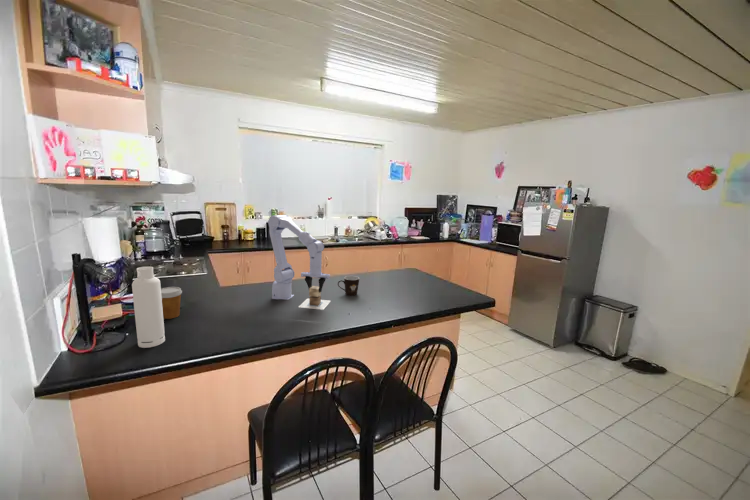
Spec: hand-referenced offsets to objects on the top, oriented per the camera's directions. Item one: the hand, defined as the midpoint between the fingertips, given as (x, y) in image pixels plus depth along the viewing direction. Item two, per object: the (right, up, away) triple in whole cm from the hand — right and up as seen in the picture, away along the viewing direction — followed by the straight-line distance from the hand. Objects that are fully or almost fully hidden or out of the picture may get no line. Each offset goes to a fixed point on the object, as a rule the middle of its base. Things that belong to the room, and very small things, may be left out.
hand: (315, 291), depth 156 cm
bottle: (-52, -13, -43) cm, 68 cm away
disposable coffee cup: (-60, -8, -20) cm, 63 cm away
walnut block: (0, -6, +1) cm, 7 cm away
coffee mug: (+15, -5, +19) cm, 25 cm away
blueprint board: (0, -7, +1) cm, 7 cm away
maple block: (0, -2, 0) cm, 2 cm away
